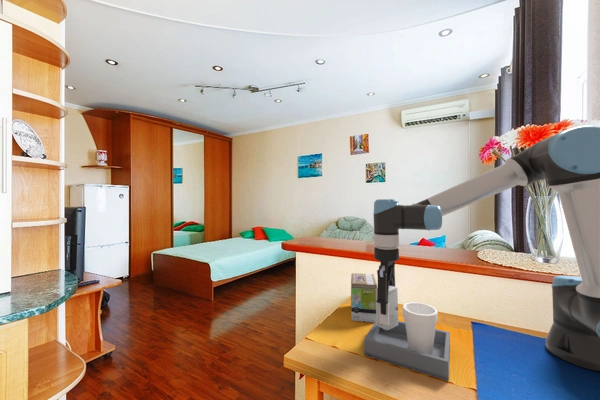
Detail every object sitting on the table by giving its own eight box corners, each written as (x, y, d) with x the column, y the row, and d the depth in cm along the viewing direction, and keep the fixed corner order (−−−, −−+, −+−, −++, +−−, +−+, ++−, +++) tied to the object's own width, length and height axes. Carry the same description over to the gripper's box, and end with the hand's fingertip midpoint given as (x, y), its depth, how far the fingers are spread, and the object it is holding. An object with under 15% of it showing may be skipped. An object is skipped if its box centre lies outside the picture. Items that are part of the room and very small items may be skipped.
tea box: (378, 323, 97) (377, 284, 97) (351, 321, 99) (350, 283, 99) (374, 306, 111) (374, 273, 111) (351, 305, 113) (350, 272, 113)
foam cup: (406, 340, 83) (405, 300, 83) (438, 348, 78) (437, 305, 78) (401, 355, 75) (400, 311, 75) (437, 365, 70) (436, 318, 70)
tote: (450, 348, 80) (449, 332, 80) (448, 381, 65) (448, 361, 65) (379, 330, 91) (378, 316, 91) (364, 355, 77) (364, 338, 77)
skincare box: (387, 331, 78) (386, 292, 78) (375, 325, 82) (374, 288, 81) (399, 324, 82) (398, 287, 81) (387, 319, 85) (386, 283, 85)
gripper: (382, 241, 92) (382, 305, 92) (365, 251, 75) (366, 329, 75) (404, 243, 88) (405, 309, 88) (391, 254, 71) (392, 336, 71)
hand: (387, 318), depth 82 cm, fingers closed on skincare box, 7 cm apart
